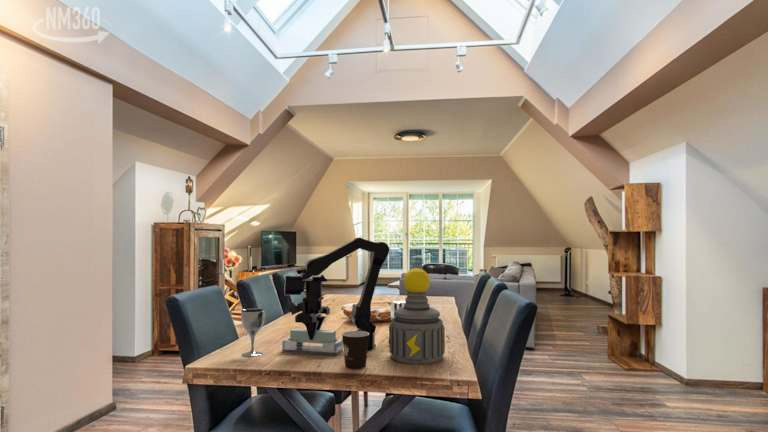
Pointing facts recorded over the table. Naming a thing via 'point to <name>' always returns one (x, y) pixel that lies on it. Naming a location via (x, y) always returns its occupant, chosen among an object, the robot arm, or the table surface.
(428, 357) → the decorative lamp
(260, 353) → the wine glass
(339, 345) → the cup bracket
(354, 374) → the table surface
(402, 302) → the beer glass
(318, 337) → the rail
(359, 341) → the coffee mug
